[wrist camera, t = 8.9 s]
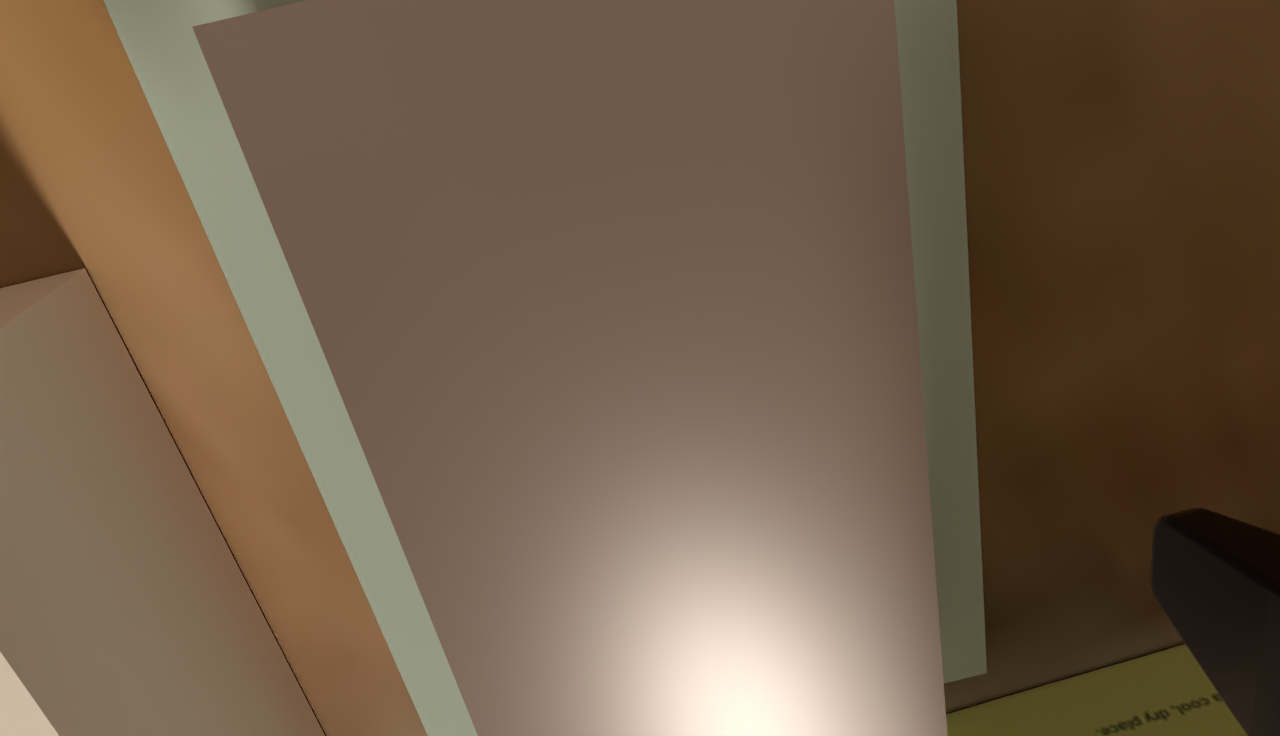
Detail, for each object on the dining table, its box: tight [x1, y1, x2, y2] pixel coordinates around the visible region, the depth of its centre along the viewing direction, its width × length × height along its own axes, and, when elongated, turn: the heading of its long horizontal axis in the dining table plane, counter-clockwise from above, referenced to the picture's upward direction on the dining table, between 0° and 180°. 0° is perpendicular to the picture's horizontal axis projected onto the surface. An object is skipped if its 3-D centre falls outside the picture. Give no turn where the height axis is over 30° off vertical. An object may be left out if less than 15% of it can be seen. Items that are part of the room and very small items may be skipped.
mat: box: [103, 0, 987, 736], centre depth 15 cm, size 11×16×1 cm
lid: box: [192, 0, 948, 736], centre depth 13 cm, size 7×13×2 cm, turn 11°
